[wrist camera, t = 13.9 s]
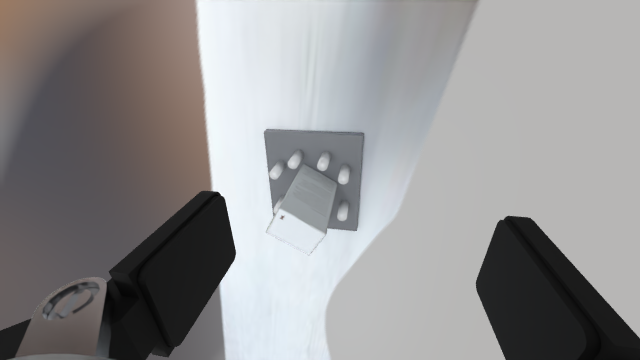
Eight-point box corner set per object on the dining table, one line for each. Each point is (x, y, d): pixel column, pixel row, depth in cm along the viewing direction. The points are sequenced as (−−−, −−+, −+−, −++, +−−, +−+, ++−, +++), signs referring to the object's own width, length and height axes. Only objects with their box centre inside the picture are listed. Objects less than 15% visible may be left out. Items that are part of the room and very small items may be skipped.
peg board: (266, 129, 39) (254, 139, 34) (363, 133, 36) (362, 144, 32) (276, 218, 46) (267, 236, 42) (357, 226, 44) (355, 245, 40)
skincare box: (291, 183, 41) (263, 232, 30) (303, 162, 39) (278, 206, 28) (325, 202, 41) (309, 257, 31) (339, 183, 39) (327, 234, 29)
